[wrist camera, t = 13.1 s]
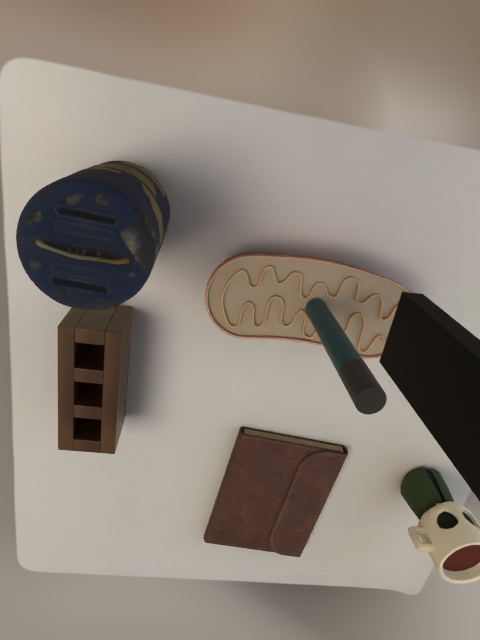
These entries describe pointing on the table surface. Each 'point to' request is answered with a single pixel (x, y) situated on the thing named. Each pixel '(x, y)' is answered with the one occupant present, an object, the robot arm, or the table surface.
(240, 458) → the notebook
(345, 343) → the pen
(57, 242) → the canister
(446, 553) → the character mug
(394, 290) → the anatomical model
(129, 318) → the pen holder
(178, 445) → the table surface
